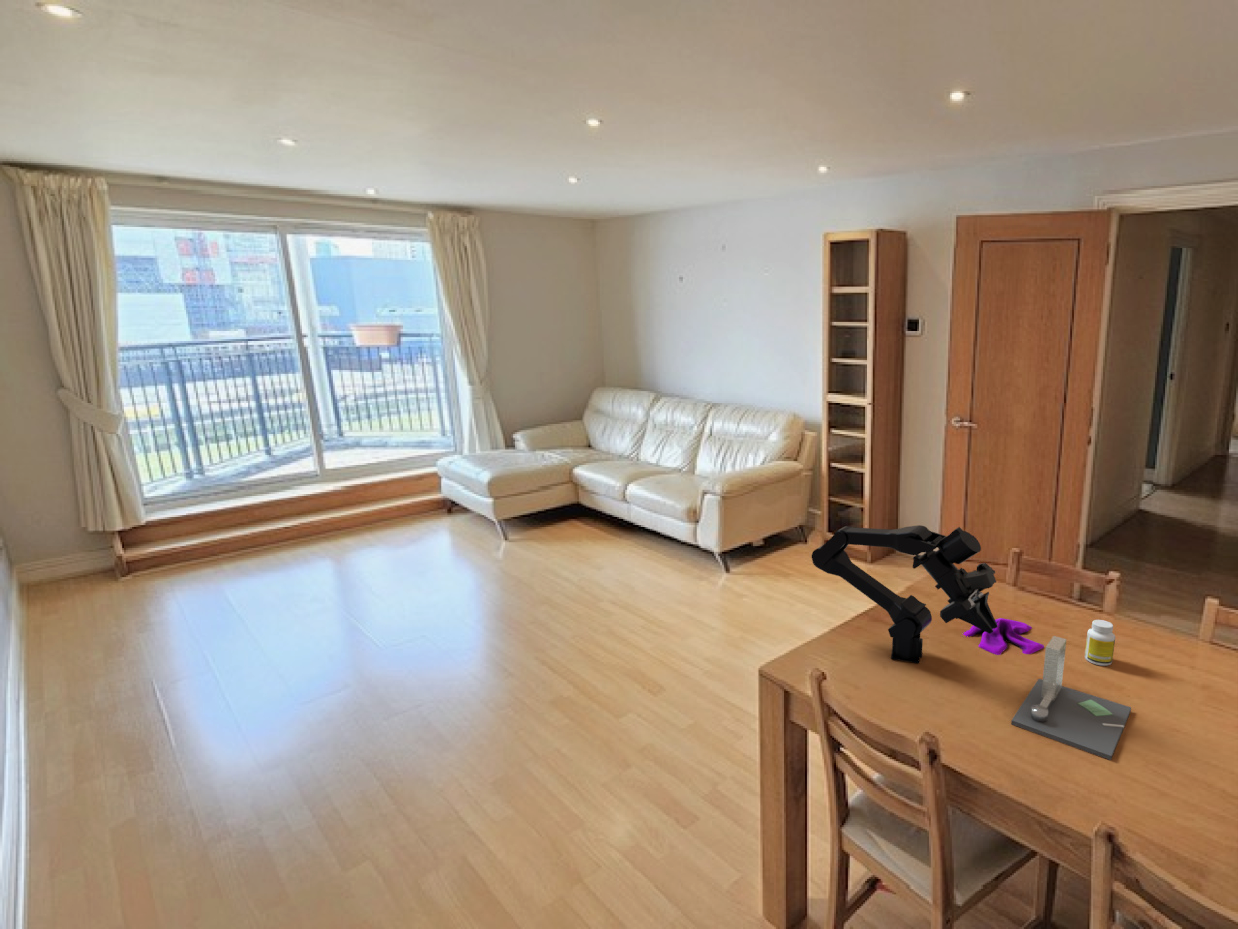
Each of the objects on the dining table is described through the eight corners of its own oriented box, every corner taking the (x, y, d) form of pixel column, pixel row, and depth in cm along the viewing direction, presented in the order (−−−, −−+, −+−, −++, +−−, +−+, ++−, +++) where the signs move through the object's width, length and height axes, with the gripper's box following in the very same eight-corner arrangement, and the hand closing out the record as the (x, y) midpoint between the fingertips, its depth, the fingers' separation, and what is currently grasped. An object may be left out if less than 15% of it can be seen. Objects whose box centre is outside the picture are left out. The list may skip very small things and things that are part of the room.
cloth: (1021, 620, 179) (1022, 599, 177) (1061, 656, 161) (1064, 633, 159) (937, 623, 180) (938, 603, 179) (968, 659, 162) (970, 636, 161)
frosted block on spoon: (1045, 723, 134) (1051, 666, 131) (1028, 718, 136) (1033, 661, 133) (1065, 688, 145) (1071, 634, 142) (1050, 683, 147) (1055, 630, 144)
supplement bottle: (1116, 667, 154) (1121, 629, 151) (1090, 666, 155) (1095, 628, 152) (1105, 655, 159) (1109, 618, 156) (1080, 654, 160) (1084, 617, 157)
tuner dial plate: (1112, 761, 124) (1112, 755, 124) (1011, 724, 137) (1011, 719, 136) (1131, 711, 138) (1132, 706, 137) (1038, 682, 150) (1038, 677, 150)
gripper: (957, 569, 141) (1010, 631, 136) (986, 543, 154) (1036, 599, 148) (919, 593, 149) (968, 652, 144) (949, 567, 161) (996, 620, 156)
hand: (993, 630), depth 148 cm, fingers open, 3 cm apart
